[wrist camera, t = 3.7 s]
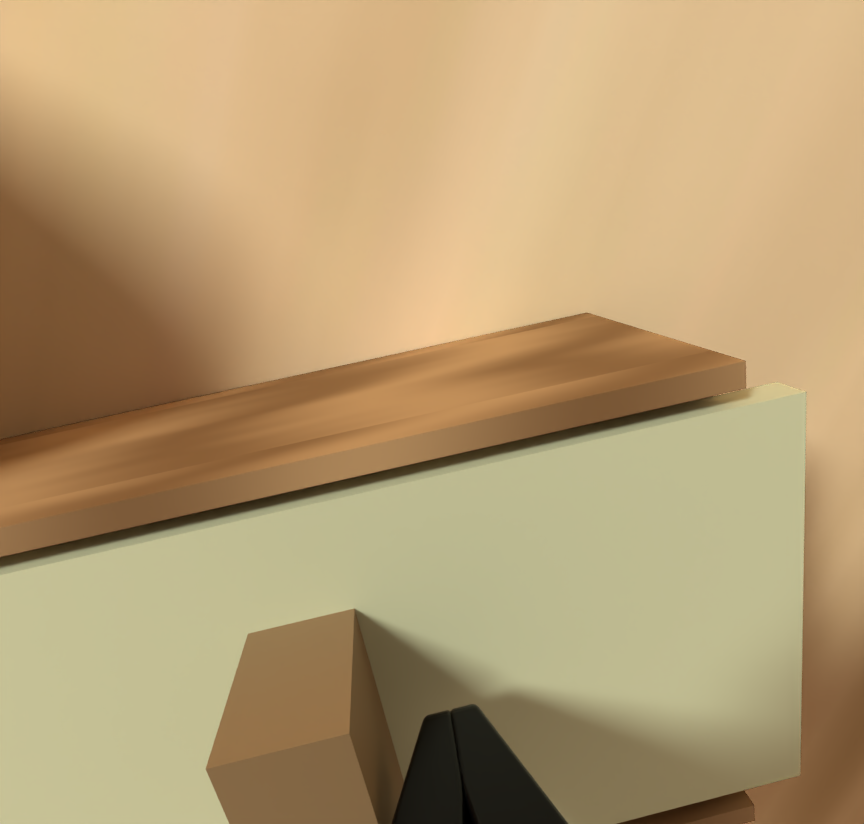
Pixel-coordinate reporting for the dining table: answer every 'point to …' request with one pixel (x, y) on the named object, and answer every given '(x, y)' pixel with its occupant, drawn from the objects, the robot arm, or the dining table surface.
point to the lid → (428, 631)
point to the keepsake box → (352, 436)
